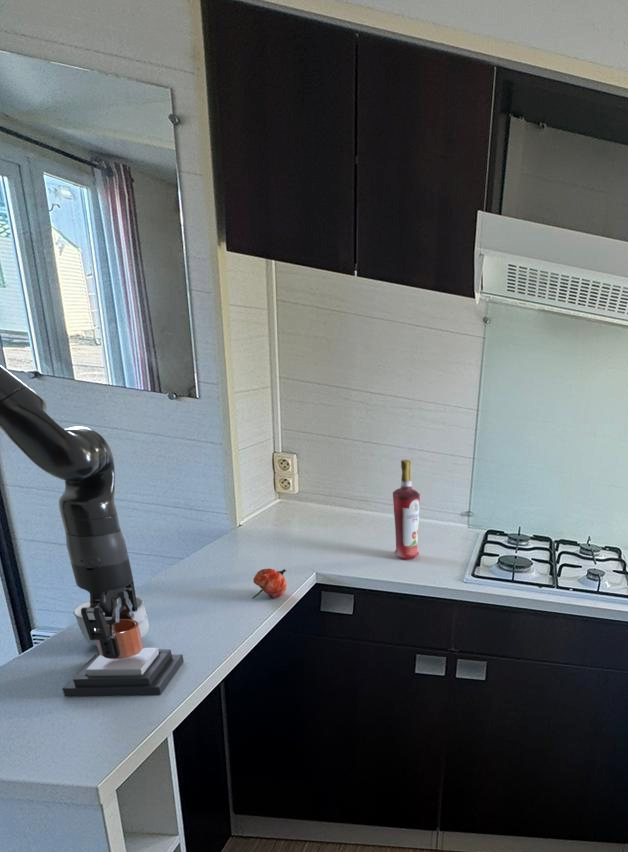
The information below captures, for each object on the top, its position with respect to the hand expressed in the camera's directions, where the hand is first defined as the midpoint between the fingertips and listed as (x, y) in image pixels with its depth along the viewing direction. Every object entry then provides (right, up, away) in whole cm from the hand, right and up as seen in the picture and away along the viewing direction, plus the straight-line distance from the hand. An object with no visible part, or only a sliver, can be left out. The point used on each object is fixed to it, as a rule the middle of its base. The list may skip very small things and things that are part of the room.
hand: (120, 647), depth 109 cm
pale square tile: (0, -3, +2) cm, 4 cm away
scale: (-1, -5, +3) cm, 6 cm away
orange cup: (0, -1, 0) cm, 1 cm away
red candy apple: (+5, +11, +40) cm, 42 cm away
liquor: (+27, +26, +75) cm, 84 cm away
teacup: (-11, +1, +14) cm, 18 cm away
